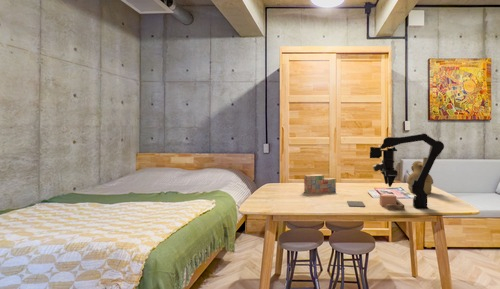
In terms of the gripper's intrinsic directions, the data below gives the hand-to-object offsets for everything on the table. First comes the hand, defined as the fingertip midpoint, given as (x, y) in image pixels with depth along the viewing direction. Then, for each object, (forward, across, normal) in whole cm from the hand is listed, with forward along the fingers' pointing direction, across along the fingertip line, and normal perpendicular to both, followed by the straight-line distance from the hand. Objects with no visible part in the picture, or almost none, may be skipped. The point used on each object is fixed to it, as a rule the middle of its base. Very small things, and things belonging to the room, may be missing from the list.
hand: (388, 185), depth 201 cm
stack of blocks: (+12, -37, -38) cm, 54 cm away
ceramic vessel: (+12, -42, +30) cm, 53 cm away
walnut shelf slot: (+12, 0, +2) cm, 12 cm away
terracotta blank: (+12, 0, 0) cm, 12 cm away
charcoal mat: (+12, 0, -18) cm, 21 cm away
